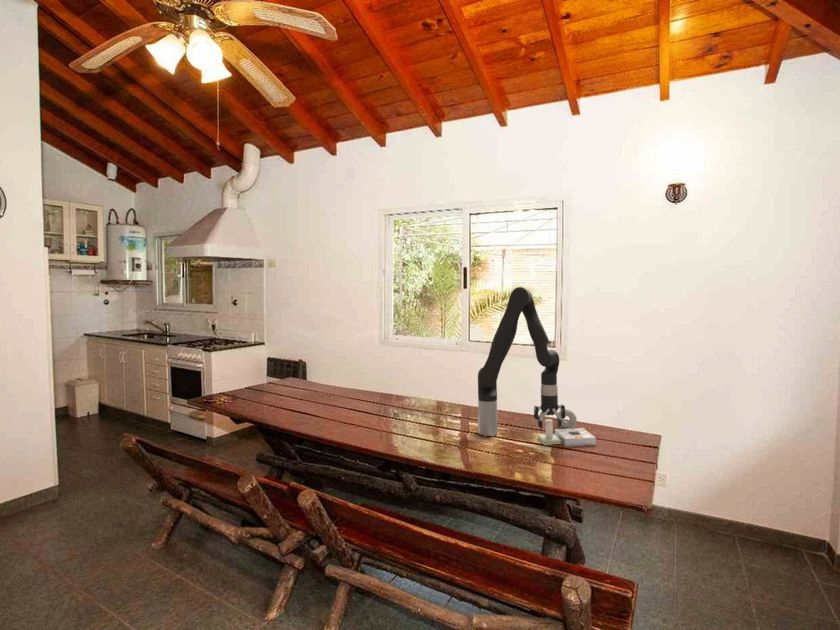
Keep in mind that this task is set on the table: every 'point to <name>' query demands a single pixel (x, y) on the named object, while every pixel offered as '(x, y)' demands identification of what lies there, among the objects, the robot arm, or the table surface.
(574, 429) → the flange
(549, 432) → the peg
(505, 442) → the table surface
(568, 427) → the donut
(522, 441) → the table surface
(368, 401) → the table surface
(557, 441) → the square base plate
